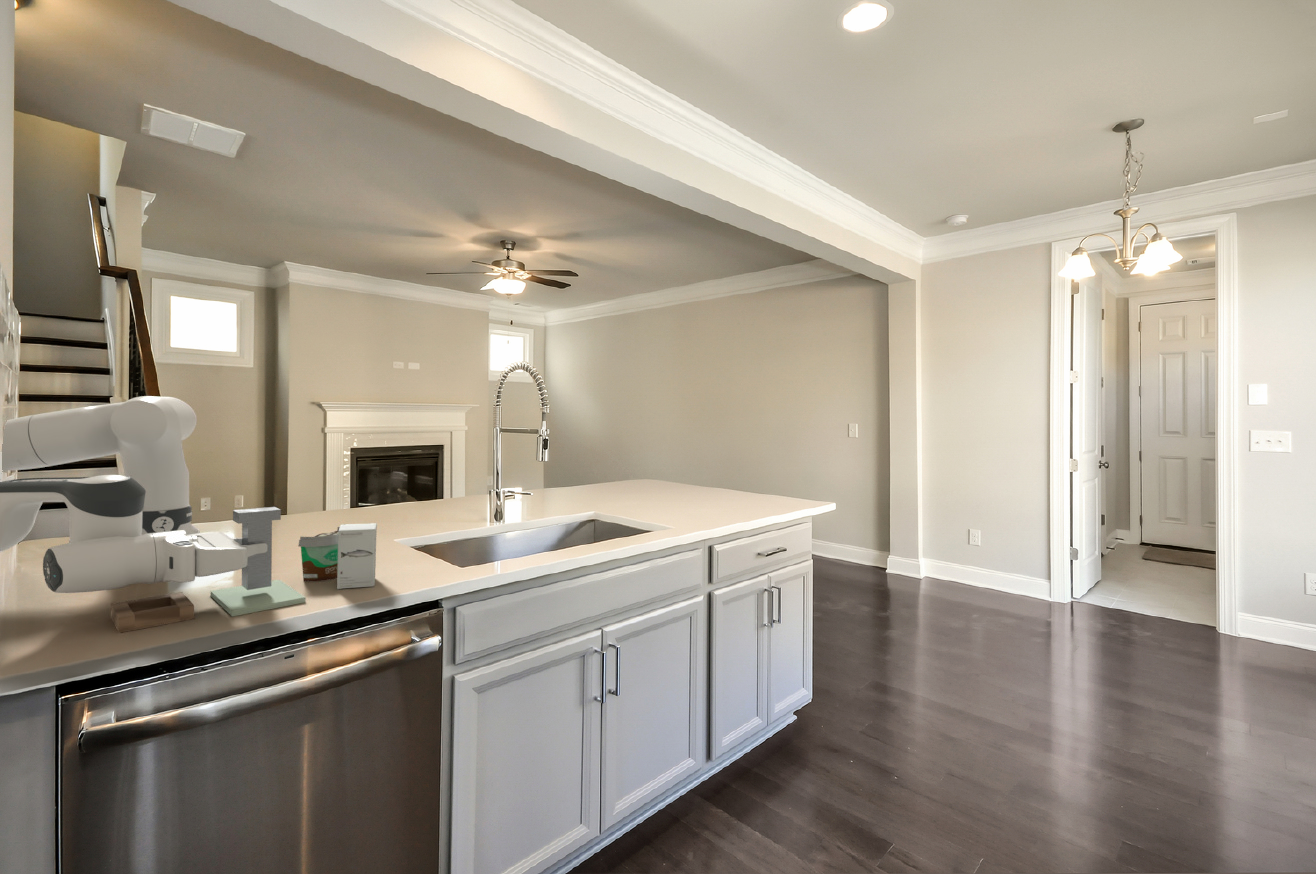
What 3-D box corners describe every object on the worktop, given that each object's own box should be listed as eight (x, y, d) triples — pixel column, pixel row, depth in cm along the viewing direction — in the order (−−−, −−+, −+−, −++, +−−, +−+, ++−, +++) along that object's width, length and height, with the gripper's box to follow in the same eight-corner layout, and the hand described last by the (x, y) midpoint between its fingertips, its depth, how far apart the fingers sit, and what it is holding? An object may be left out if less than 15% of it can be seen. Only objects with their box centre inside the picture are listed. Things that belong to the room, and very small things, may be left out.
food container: (322, 585, 129) (323, 539, 128) (298, 583, 130) (298, 537, 129) (362, 570, 141) (362, 528, 140) (339, 568, 142) (339, 526, 141)
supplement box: (336, 590, 126) (336, 530, 125) (339, 580, 133) (339, 523, 132) (375, 587, 129) (376, 528, 128) (376, 577, 136) (377, 522, 135)
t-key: (232, 587, 117) (232, 510, 116) (273, 580, 122) (274, 506, 122) (238, 591, 114) (238, 513, 114) (280, 584, 120) (280, 509, 119)
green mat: (210, 595, 120) (210, 590, 120) (279, 584, 129) (279, 579, 128) (232, 616, 109) (232, 611, 109) (305, 602, 118) (305, 597, 118)
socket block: (110, 617, 107) (110, 603, 106) (182, 605, 114) (182, 591, 114) (118, 632, 100) (118, 618, 100) (194, 618, 107) (193, 604, 107)
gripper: (162, 561, 116) (247, 550, 126) (184, 585, 102) (278, 571, 112) (162, 528, 115) (247, 520, 126) (184, 548, 102) (278, 537, 112)
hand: (262, 544), depth 119 cm, fingers closed on t-key, 4 cm apart
